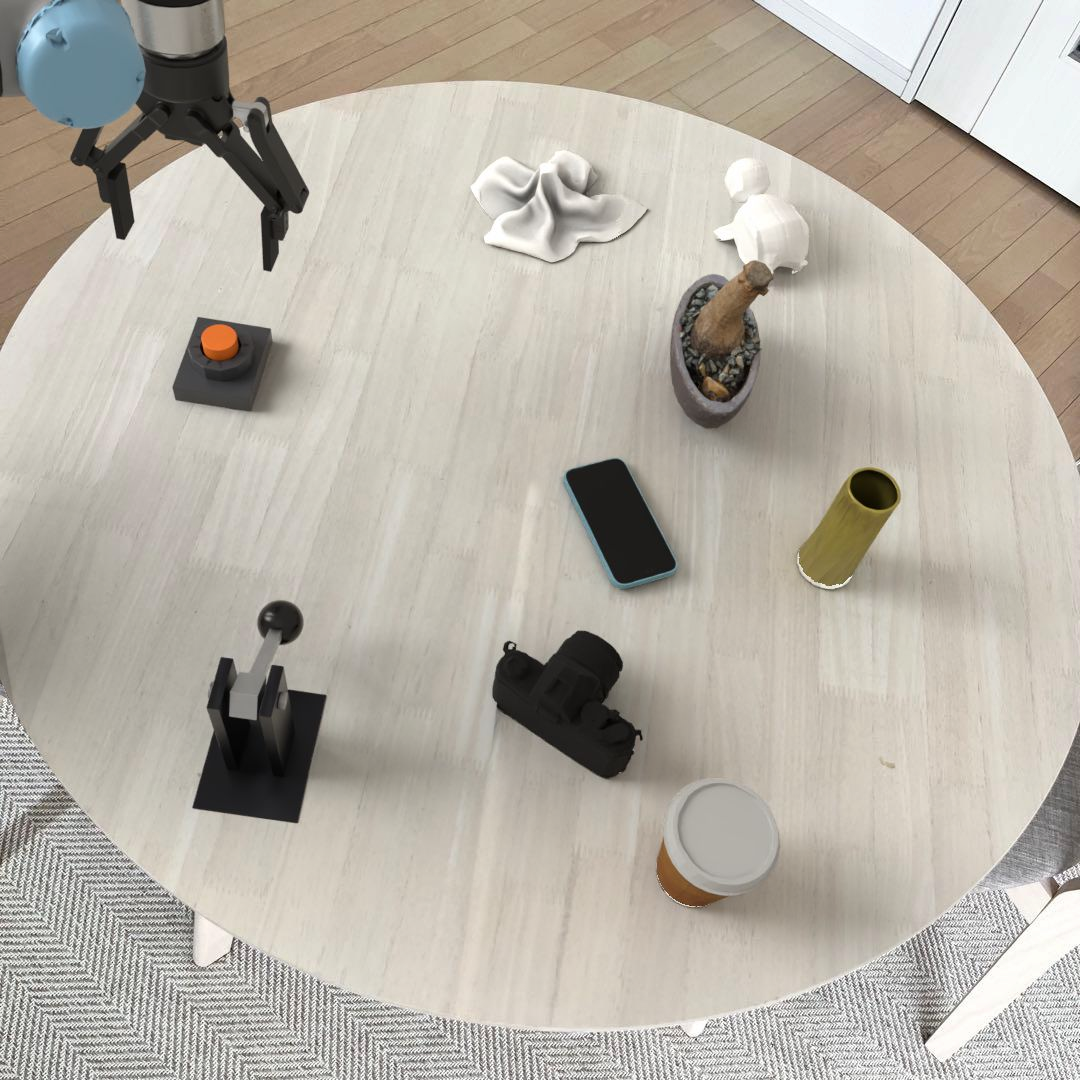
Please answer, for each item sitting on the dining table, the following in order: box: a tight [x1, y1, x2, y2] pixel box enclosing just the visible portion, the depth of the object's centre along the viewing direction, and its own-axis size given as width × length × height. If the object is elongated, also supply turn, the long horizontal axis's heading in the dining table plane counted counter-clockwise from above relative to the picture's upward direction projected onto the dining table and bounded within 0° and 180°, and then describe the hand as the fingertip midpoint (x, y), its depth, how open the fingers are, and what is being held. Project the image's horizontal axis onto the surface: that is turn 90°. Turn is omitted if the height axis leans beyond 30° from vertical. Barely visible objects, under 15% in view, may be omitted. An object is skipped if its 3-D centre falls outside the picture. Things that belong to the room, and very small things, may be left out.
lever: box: [229, 599, 305, 720], centre depth 95 cm, size 14×4×4 cm, turn 175°
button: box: [201, 324, 239, 361], centre depth 119 cm, size 4×4×2 cm
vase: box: [799, 466, 902, 586], centre depth 112 cm, size 6×6×14 cm
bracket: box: [191, 656, 327, 824], centre depth 94 cm, size 12×9×15 cm
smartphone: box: [563, 457, 678, 590], centre depth 117 cm, size 7×1×15 cm
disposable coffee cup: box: [656, 777, 781, 908], centre depth 95 cm, size 10×10×12 cm
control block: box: [171, 316, 273, 413], centre depth 121 cm, size 8×10×4 cm
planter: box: [669, 260, 775, 430], centre depth 120 cm, size 15×17×20 cm
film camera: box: [491, 629, 644, 780], centre depth 103 cm, size 15×10×9 cm, turn 56°
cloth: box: [470, 149, 630, 263], centre depth 139 cm, size 22×19×6 cm
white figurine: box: [713, 157, 810, 276], centre depth 139 cm, size 9×8×15 cm
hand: (198, 246), depth 105 cm, fingers open, 13 cm apart
